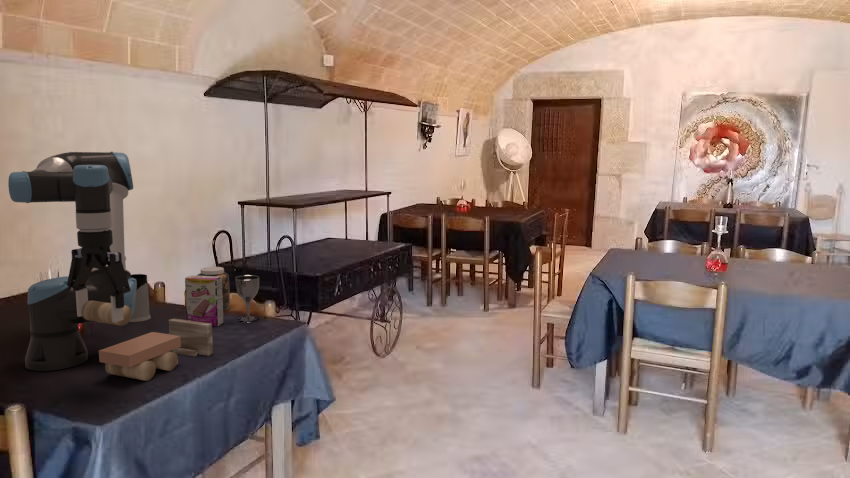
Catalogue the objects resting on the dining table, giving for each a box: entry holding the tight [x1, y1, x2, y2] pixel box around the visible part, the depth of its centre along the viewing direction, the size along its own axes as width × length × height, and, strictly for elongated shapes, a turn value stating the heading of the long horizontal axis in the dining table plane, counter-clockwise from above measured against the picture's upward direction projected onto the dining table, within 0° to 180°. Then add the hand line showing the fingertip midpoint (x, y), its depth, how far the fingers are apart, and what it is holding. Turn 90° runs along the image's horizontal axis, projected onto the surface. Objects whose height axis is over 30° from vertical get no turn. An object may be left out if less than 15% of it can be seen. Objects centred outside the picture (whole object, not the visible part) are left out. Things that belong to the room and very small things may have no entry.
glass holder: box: [128, 273, 152, 323], centre depth 221 cm, size 9×14×15 cm, turn 81°
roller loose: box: [82, 300, 131, 326], centre depth 158 cm, size 5×11×5 cm
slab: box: [98, 331, 181, 367], centre depth 169 cm, size 18×10×3 cm, turn 159°
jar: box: [196, 266, 231, 312], centre depth 235 cm, size 12×12×15 cm
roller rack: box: [104, 317, 214, 382], centre depth 176 cm, size 26×14×9 cm, turn 159°
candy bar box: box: [184, 274, 224, 327], centre depth 214 cm, size 11×5×16 cm, turn 84°
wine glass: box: [234, 274, 260, 321], centre depth 221 cm, size 8×8×15 cm
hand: (100, 318), depth 156 cm, fingers closed on roller loose, 11 cm apart
